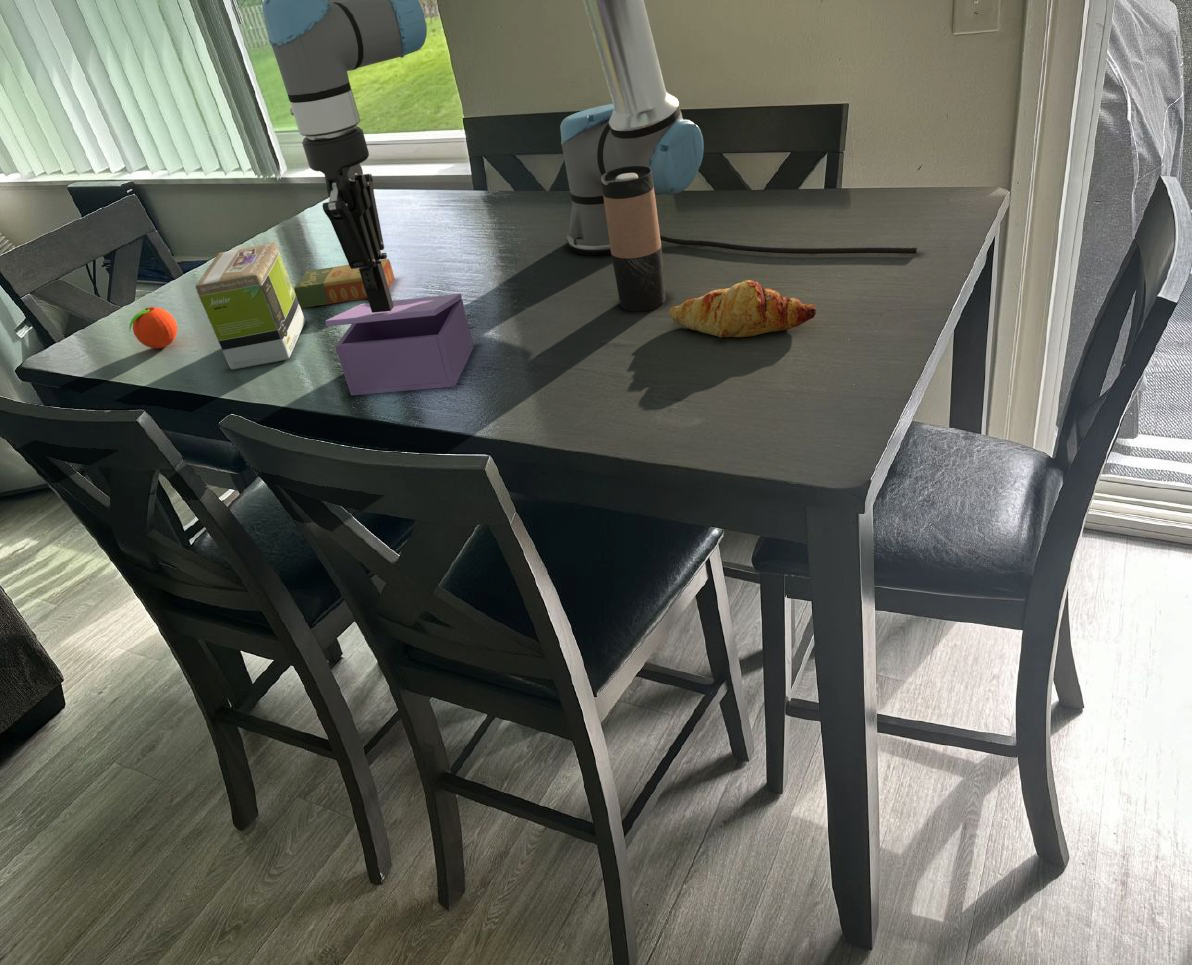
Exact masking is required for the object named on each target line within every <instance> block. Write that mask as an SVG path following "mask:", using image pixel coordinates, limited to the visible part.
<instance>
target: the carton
mask: <svg viewBox="0 0 1192 965" xmlns="http://www.w3.org/2000/svg"><path fill="white" fill-rule="evenodd" d="M379 261H381V263H382V266H383V270H384V273H385V277H386V280H387V284H388V287H389V289H390V288H391V286H392V285H393V283H394V281H395V274H394V269H393V267H392V263H391V261H390V259H389V258H386V259H381V260H379ZM293 290H294V292H295V295H296V298H297V301H298V303H299V306H300V308H301V309H305V308H309V307H317V306H324V305H330V304H336V303H345V302H352V301H359V300H364V299H368V298H367V294H366V291H365V288H364V284H363V281H362V278H361V274H360V271H359V268H358V269H351V268H350V266H349V264H344V265H337V266H331V267H324V268H317V269H310V270H306V271H305V273H304V274H303V275H302V276H301V277H300V279H299V281H298V282H297V283H296V284H295V285H294V287H293Z"/></svg>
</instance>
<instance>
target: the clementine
mask: <svg viewBox="0 0 1192 965" xmlns="http://www.w3.org/2000/svg"><path fill="white" fill-rule="evenodd" d="M177 324H178V323H177V321H176V320H175V317H174V316H173V315H172V314H171V312H169V311H167V310H166V309H164V308H160V307H156V306H152V307H146V308H144V309H141V310H140V311H139V312H137V313H136V314H135V315H134V316H133V317H132V319H131V320H130V323H129V328H128V330H129V331H131V328H132V331H133V334H134V336H135V337H136V340H137V341H138V342H139V343H141V344H142V345H143V346H145V347H148V348H151V349H162V348H163V349H164V348H165V347H167V346H169V345H170V344H172V343H173V342H174V340H175V339H176V337H177V334H178V325H177Z"/></svg>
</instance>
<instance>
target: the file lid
mask: <svg viewBox="0 0 1192 965" xmlns="http://www.w3.org/2000/svg"><path fill="white" fill-rule="evenodd" d="M461 299H462V300H463V297H462V293H453V294H443V295H434V296H433V295H432V296H424V297H414V298H405V299H394V300H392V301H393V305H394V307H393V308H392V310H391V311H385V312H375V313H372V311H371V308H370V304H369V302H366V303H360V304H358V305H356V306H354V307H352V308H350V309H347V310H345V311H343V312H341V313H338V314H336V315H335V316H332V317H330V318H328V319H326V320H324V322H325V327H334V326H345V325H351V324H356V323H366V322H376V321H386V320H395V319H405V318H415V317H425V316H435V315H437V314H438V313H440V312H441V311H443V310H445V309H446V308H448V307H449V306H451V305H453V304H454V303H456V302H457V301H459V300H461Z"/></svg>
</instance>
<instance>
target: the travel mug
mask: <svg viewBox="0 0 1192 965" xmlns="http://www.w3.org/2000/svg"><path fill="white" fill-rule="evenodd" d="M601 183H602V190H603V197H604V204H605V212H606V219H607V226H608V234H609V241H610V248H611V254H610V255H611V259H612V266H613V271H614V277H615V282H616V288H617V293H618V294H617V295H618V298H619V304H620V307H621V308H622V309H624V310H625V311H628V312H645V311H646V312H647V311H650V310H653V309H656V308H658V307H660V306H662V305H663V304H664V303H665V302H666V286H665V274H664V262H663V250H662V240H660V235H661V233H660V226H659V217H658V209H657V201H656V200H657V199H656V195H655V193H654V185H653V177H652V170H651V169H650V168H648V167H645V166H629V167H622V168H618V169H614V170H611V171H609V172H607V173H605V174H603V175H602V177H601Z"/></svg>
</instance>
